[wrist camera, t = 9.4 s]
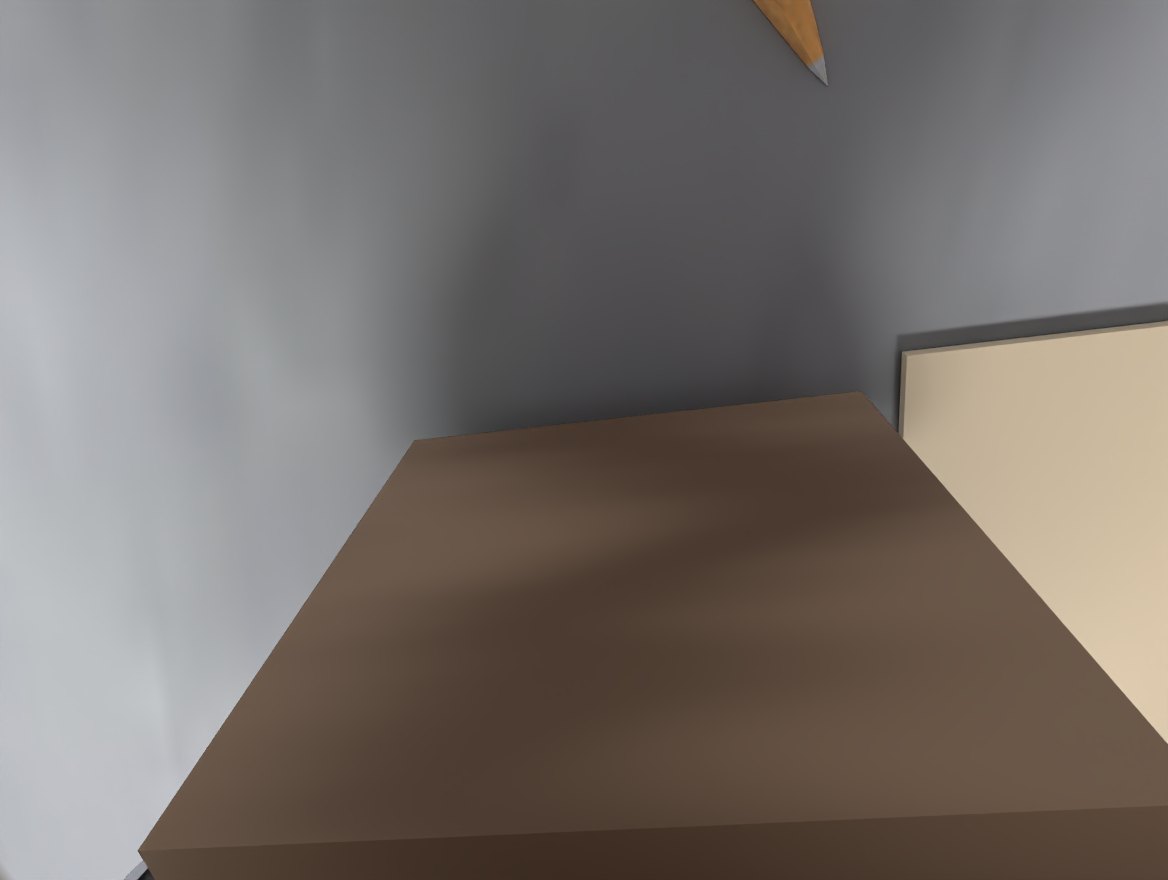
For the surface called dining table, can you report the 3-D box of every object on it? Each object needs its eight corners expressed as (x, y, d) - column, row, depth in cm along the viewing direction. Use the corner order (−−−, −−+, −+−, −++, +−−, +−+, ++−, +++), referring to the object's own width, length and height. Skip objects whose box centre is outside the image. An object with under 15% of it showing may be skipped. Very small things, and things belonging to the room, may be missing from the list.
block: (861, 391, 9) (1219, 801, 4) (854, 733, 11) (1063, 1292, 6) (414, 440, 10) (137, 850, 4) (497, 754, 12) (390, 1273, 7)
